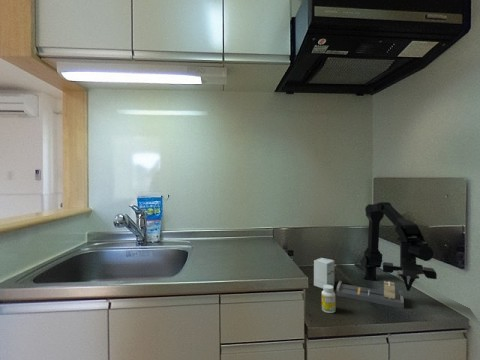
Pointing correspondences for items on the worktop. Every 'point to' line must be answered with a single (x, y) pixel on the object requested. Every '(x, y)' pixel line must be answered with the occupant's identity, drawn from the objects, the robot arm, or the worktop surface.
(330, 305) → the supplement bottle
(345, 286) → the fader console
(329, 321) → the worktop surface
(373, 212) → the robot arm
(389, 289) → the fader knob
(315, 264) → the supplement box
